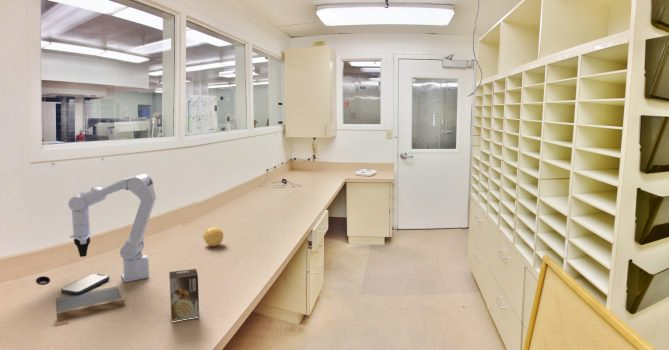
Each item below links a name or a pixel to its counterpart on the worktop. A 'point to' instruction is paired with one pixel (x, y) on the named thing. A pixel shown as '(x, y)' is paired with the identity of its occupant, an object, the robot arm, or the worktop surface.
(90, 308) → the back rail
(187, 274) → the coffee box
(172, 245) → the worktop surface
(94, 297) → the mat
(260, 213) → the worktop surface
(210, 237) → the stress ball
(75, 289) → the phone case
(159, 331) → the worktop surface
